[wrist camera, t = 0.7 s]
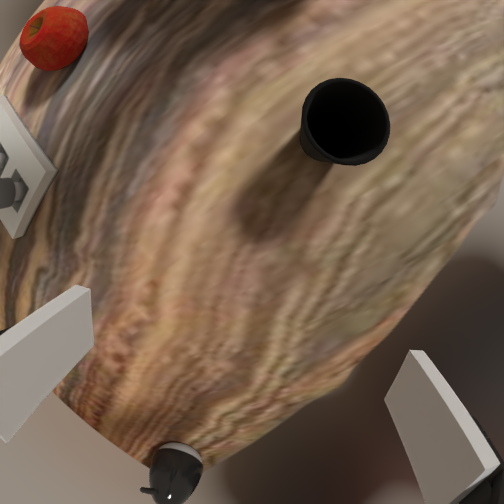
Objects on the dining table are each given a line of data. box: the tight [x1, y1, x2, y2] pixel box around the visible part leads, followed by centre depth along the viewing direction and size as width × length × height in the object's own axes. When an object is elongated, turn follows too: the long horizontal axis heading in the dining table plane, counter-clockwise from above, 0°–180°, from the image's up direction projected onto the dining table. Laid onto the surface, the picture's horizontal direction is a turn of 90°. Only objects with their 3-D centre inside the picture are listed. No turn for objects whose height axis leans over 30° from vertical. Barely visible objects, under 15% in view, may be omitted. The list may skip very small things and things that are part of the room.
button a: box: [0, 178, 25, 209], centre depth 31 cm, size 5×5×5 cm
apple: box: [19, 6, 89, 71], centre depth 25 cm, size 11×11×11 cm
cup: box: [300, 78, 390, 166], centre depth 27 cm, size 8×8×12 cm
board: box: [0, 95, 58, 239], centre depth 33 cm, size 14×24×3 cm, turn 44°
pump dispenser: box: [140, 442, 204, 504], centre depth 40 cm, size 10×10×15 cm
